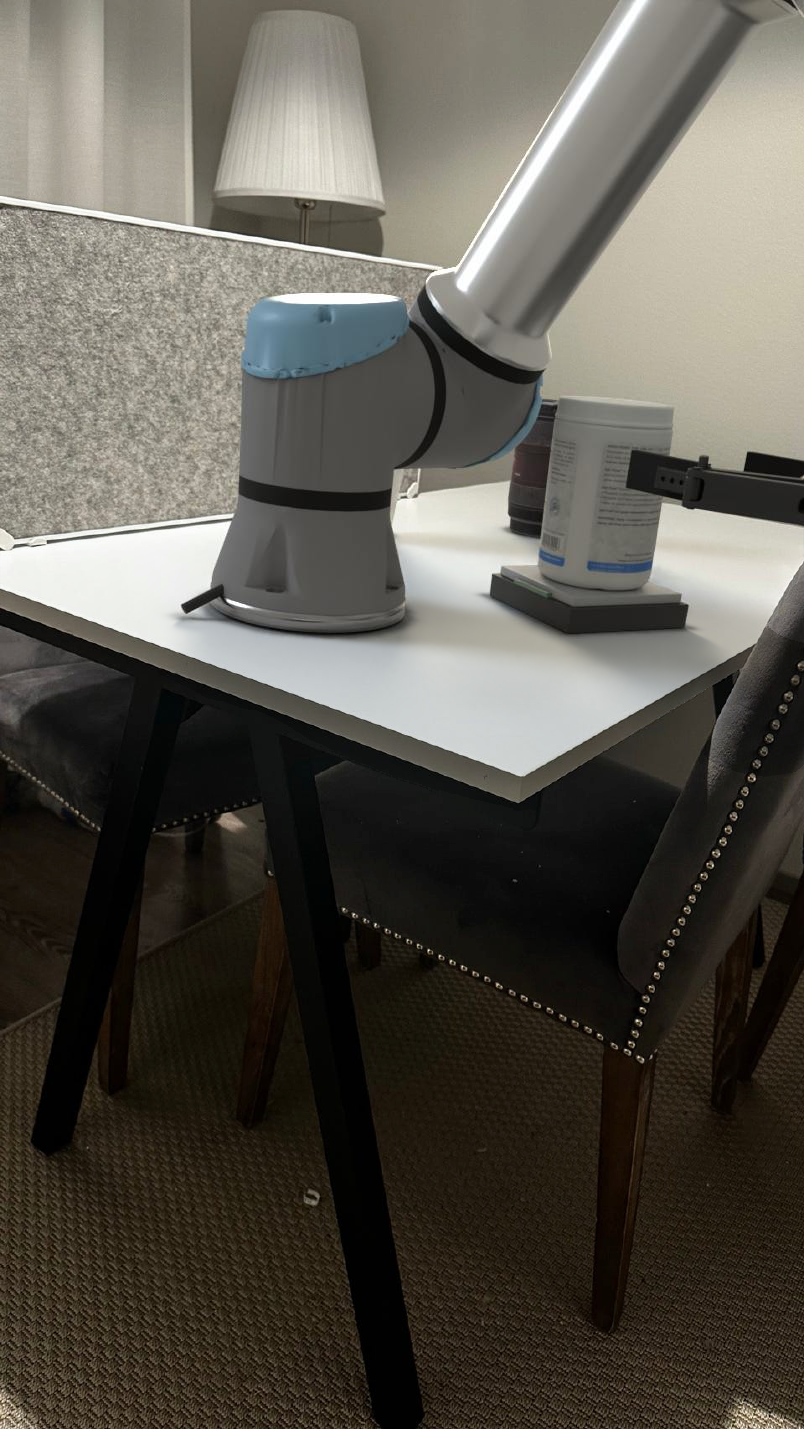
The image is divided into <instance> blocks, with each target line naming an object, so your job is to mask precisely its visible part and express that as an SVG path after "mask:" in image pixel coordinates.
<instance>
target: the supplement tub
mask: <svg viewBox="0 0 804 1429" xmlns="http://www.w3.org/2000/svg"><path fill="white" fill-rule="evenodd" d="M558 400H559V401H558V408H557V412H556V414H555V416H556V419H555V421H554V429H553V436H552V445H551V454H550V462H549V471H548V479H547V487H546V496H545V505H544V514H543V522H542V531H541V537H540V541H539V549H538V559H537V565H538V568H539V571H540V572H541V573H542V574H543V575H544V576H546V577H547V578H549V579H551V580H554V581H556V582H559V583H563V584H567V585H571V586H575V587H581V588H589V589H595V588H600V589H603V590H630V589H635V588H639V587H641V586H643V585H645V584H646V583H647V582H648V581H649V580H650V579H651V576H652V570H653V564H654V558H655V551H656V546H657V538H658V533H659V532H658V531H659V526H660V518H661V513H662V506H663V499H664V497H663V496H659V495H655V494H650V493H646V492H642V491H637V490H633V489H629V488H626V482H627V475H628V469H629V463H630V457H631V451H632V450H641V451H646V452H652V453H657V454H662V455H667V456H671V455H670V454H671V447H672V439H673V433H674V430H673V427H674V420H673V419H674V414H675V413H674V412H675V407H674V406H673V405H671V404H667V403H659V402H653V401H647V400H646V401H645V400H636V399H626V398H616V397H603V396H591V395H560V396H559V398H558ZM649 582H650V581H649Z"/></svg>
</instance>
